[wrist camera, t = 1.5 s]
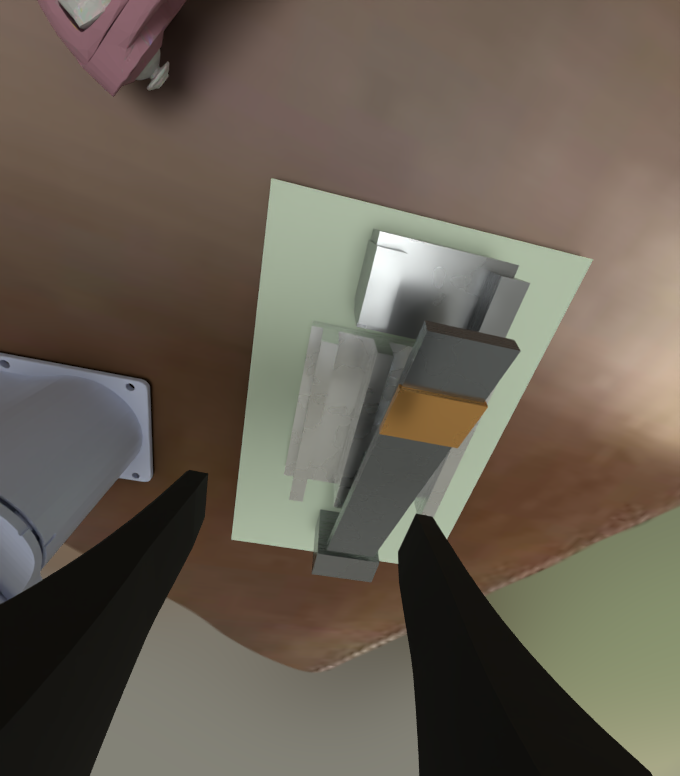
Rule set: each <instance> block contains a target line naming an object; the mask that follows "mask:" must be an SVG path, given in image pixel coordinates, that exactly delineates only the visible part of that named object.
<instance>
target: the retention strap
mask: <svg viewBox="0 0 680 776" xmlns="http://www.w3.org/2000/svg"><path fill="white" fill-rule="evenodd" d="M520 352H521V351H520V349H519V347H518V345H517V343H516V342H515V340H513V339H508V338H503V337H499V336H494V335H490V334H485V333H481V332H476V331H472V330H467V329H463V328H458V327H454V326H449V325H445V324H440V323H436V322H431V321H427V320H425V321H424V323H423V326H422V328H421V330H420V332H419V335H418V337H417V339H416V341H415V344H414V346H413V348H412V351H411V353H410V355H409V357H408V360H407V362H406V364H405V366H404V369H403V371H402V373H401V375H400V378H399V380H398V382H397V384H396V387H395V389H394V391H393V394H392V396H391V398H390V400H389V403H388V405H387V407H386V409H385V412H384V414H383V416H382V418H381V421H380V423H379V425H378V427H377V430H376V432H375V434H374V436H373V439H372V441H371V443H370V446H369V448H368V450H367V452H366V455H365V457H364V459H363V461H362V464H361V466H360V468H359V470H358V473H357V475H356V477H355V479H354V482H353V484H352V486H351V489H350V491H349V493H348V495H347V498H346V500H345V502H344V504H343V507H342V509H341V511H340V513H339V516H338V518H337V520H336V522H335V525H334V527H333V529H332V532H331V534H330V536H329V538H328V541H327V550H328V551H335V552H342V553H349V554H356V555H363V556H369V557H374V556H375V554H376V553H377V551H378V550H379V549H380V547H381V546H382V544H383V543H384V542H385V540H386V539H387V537H388V536H389V535H390V533H391V532H392V530H393V529H394V528H395V526H396V525H397V523H398V522H399V521H400V519H401V518H402V516H403V515H404V514H405V512H406V511H407V509H408V508H409V507H410V505H411V504H412V502H413V501H414V500H415V498H416V497H417V496H418V494H419V493H420V491H421V490H422V489H423V487H424V486H425V484H426V483H427V482H428V480H429V479H430V477H431V476H432V475H433V473H434V472H435V470H436V469H437V468H438V466H439V465H440V463H441V462H442V461H443V459H444V458H445V456H446V455H447V454H448V452H449V451H450V449H451V448H452V447H453V448H458V447H459V446H460V445H461V443H462V442H463V441H464V439H465V438H466V437H467V435H468V434H469V432H470V431H471V430H472V428H473V427H474V426H475V424H476V423H477V422H478V420H479V419H480V418H481V416H482V415H483V414H484V412H485V411H486V409H487V408H488V406H487V403H486V401H485V400H486V399H487V398H488V396H489V395H490V393H491V392H492V391H493V389H494V388H495V387H496V385H497V384H498V382H499V381H500V380H501V378H502V377H503V375H504V374H505V373H506V371H507V370H508V368H509V367H510V366H511V364H512V363H513V361H514V360H515V359H516V357H517V356H518V354H519V353H520Z"/></svg>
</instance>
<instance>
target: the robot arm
mask: <svg viewBox="0 0 680 776" xmlns="http://www.w3.org/2000/svg"><path fill="white" fill-rule="evenodd" d="M6 361H7V362H8V363H9V364H8V363H7V362H6ZM129 383H130V384H132V385H133V386H134V387H135V388H132V387H131V386H130V385H129ZM136 473H138V474H139V475H138V474H136ZM152 477H153V456H152V427H151V398H150V385H149V384H148V382H146V381H145V380H143V379H139V378H133V377H128V376H123V375H117V374H112V373H106V372H101V371H96V370H90V369H85V368H80V367H74V366H69V365H64V364H58V363H53V362H48V361H42V360H37V359H32V358H26V357H21V356H15V355H10V354H5V353H0V776H90V773H91V770H92V768H93V765H94V763H95V760H96V758H97V756H98V753H99V750H100V748H101V746H102V743H103V740H104V738H105V736H106V733H107V731H108V728H109V726H110V723H111V720H112V718H113V715H114V713H115V710H116V708H117V706H118V703H119V701H120V699H121V696H122V694H123V691H124V689H125V687H126V684H127V682H128V679H129V677H130V674H131V672H132V669H133V667H134V665H135V663H136V660H137V657H138V656H139V653H140V651H141V649H142V646H143V644H144V641H145V639H146V637H147V635H148V633H149V630H150V628H151V626H152V624H153V622H154V620H155V618H156V616H157V614H158V612H159V610H160V609H161V607H162V605H163V603H164V601H165V599H166V597H167V595H168V593H169V591H170V590H171V588H172V586H173V584H174V582H175V580H176V578H177V576H178V574H179V573H180V571H181V569H182V567H183V565H184V563H185V561H186V559H187V557H188V555H189V553H190V551H191V549H192V547H193V545H194V543H195V540H196V538H197V535H198V533H199V530H200V528H201V525H202V523H203V520H204V517H205V506H206V493H207V480H208V473H202V472H197V471H192V470H189V471H187V472H185V473H184V474H183V475H182V476H181V477H180V478H179V479H178V480H177V481H176V482H174V483H173V484H172V485H171V486H170V487H169V488H168V489H167V490H166V491H164V492H163V493H162V494H161V495H160V496H159V497H157V498H156V499H155V500H154V501H153V502H152V503H150V504H149V505H148V506H147V507H145V508H144V509H143V510H142V511H141V512H139V513H138V514H137V515H136V516H135V517H133V518H132V519H131V520H129V521H128V522H127V523H125V524H124V525H123V526H121V527H120V528H119V529H117V530H116V531H115V532H114V533H112V534H111V535H110V536H108V537H107V538H106V539H104V540H103V541H101V542H100V543H99V544H97V545H96V546H94V547H93V548H91V549H90V550H88V551H87V552H86V553H84V554H83V555H81V556H80V557H78V558H77V559H75V560H74V561H72V562H70V563H69V564H67V565H66V566H64V567H63V568H61V569H60V570H58V571H56V572H55V573H53V574H51V575H50V576H48V577H47V578H45V579H42V577H41V575H40V571H41V570H42V568H43V567H44V566H45V565H46V564H47V563H48V561H49V560H50V559H51V558H52V556H53V555H54V554H55V553H56V552H57V551H58V549H59V548H60V547H61V546H62V545H63V543H64V542H65V541H66V540H67V539H68V537H69V536H70V535H71V534H72V533H73V532H74V530H75V529H76V528H77V527H78V526H79V524H80V523H81V522H82V521H83V520H84V518H85V517H86V516H87V515H88V514H89V512H90V511H91V510H92V509H93V508H94V506H95V505H96V504H97V503H98V502H99V501H100V499H101V498H102V497H103V496H104V495H105V493H106V492H107V491H108V490H109V489H110V487H111V486H112V485H113V484H114V483H115V481H116V480H117V479H118V478H123V479H129V480H136V481H142V482H148V481H150V480H151V478H152ZM398 570H399V585H400V592H401V598H402V604H403V611H404V617H405V623H406V629H407V635H408V641H409V647H410V654H411V661H412V669H413V678H414V690H415V704H416V719H417V736H418V752H419V753H418V754H419V776H652V774H651V772H650V771H649V770H648V769H646V768H645V767H644V766H643V765H642V764H641V763H640V762H639V761H638V760H637V759H636V758H634V757H633V756H632V755H631V754H630V753H629V752H628V751H627V750H626V749H624V748H623V747H622V746H621V745H620V744H619V743H618V742H617V741H616V740H615V739H613V738H612V737H611V736H610V735H609V734H608V733H607V732H606V731H605V730H604V729H603V728H602V727H601V726H600V725H598V724H597V723H596V722H595V721H594V720H593V719H592V718H591V717H590V716H589V715H588V714H587V713H586V712H585V711H584V710H583V709H582V708H581V707H580V706H579V705H578V704H577V703H576V702H575V701H574V700H573V699H572V698H571V697H570V696H569V695H568V694H567V693H566V692H565V691H564V690H563V689H562V688H561V686H559V684H558V683H557V682H556V681H555V680H554V679H553V678H552V677H551V676H550V675H549V674H548V673H547V671H546V670H545V669H544V668H543V667H542V666H541V665H540V664H539V663H538V662H537V660H536V659H535V658H534V657H533V656H532V655H531V654H530V653H529V651H528V650H527V649H526V648H525V647H524V646H523V645H522V643H521V642H520V641H519V640H518V638H517V637H516V636H515V635H514V634H513V632H512V631H511V630H510V629H509V627H508V626H507V625H506V624H505V623H504V621H503V620H502V619H501V617H500V616H499V615H498V614H497V612H496V611H495V610H494V608H493V607H492V606H491V604H490V603H489V601H488V600H487V599H486V597H485V596H484V595H483V593H482V592H481V590H480V589H479V588H478V586H477V585H476V583H475V582H474V580H473V579H472V577H471V576H470V575H469V573H468V572H467V570H466V569H465V567H464V566H463V564H462V562H461V561H460V559H459V558H458V556H457V555H456V553H455V552H454V550H453V548H452V547H451V545H450V544H449V542H448V540H447V539H446V537H445V536H444V534H443V532H442V531H441V529H440V528H439V526H438V524H437V523H436V521H435V520H434V518H433V517H432V516H427V515H421V514H415V516H414V519H413V521H412V523H411V525H410V527H409V529H408V531H407V533H406V536H405V538H404V540H403V542H402V544H401V546H400V548H399V550H398Z"/></svg>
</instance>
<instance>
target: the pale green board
mask: <svg viewBox="0 0 680 776" xmlns="http://www.w3.org/2000/svg"><path fill="white" fill-rule="evenodd" d="M373 229H377V230H381V231H385V232H389V233H393V234H397V235H402V236H406V237H410V238H414V239H418V240H422V241H426V242H430V243H434V244H438V245H442V246H446V247H450V248H455V249H459V250H463V251H467V252H471V253H475V254H479V255H483V256H487V257H491V258H495V259H498V260H502V261H506V262H509V263H513V264H516V265H519V267H518V270H517V272H516V274H515V278H517V279H520V280H523V281H526V282H529V283H530V285H529V288H528V290H527V292H526V294H525V296H524V298H523V301H522V303H521V305H520V307H519V309H518V312H517V314H516V316H515V318H514V320H513V322H512V325H511V327H510V329H509V331H508V333H507V336H506V338H508V339H513V340H515V342H516V343H517V345H518V347H519V349H520V351H521V352H520V353H519V354H518V356H517V357H516V359H515V360H514V361H513V363H512V364H511V366H510V367H509V368H508V370H507V371H506V373H505V374H504V375H503V377H502V378H501V380H500V381H499V382H498V384H497V386H496V388H495V390H494V392H493V394H492V396H491V398H490V400H489V402H488V404H487V406H488V408H487V409H486V411H485V412H484V414H483V415H482V417H481V419H480V421H479V423H478V425H477V427H476V430H475V432H474V434H473V436H472V438H471V440H470V442H469V444H468V446H467V448H466V451H465V453H464V455H463V457H462V459H461V461H460V463H459V465H458V467H457V469H456V472H455V474H454V476H453V478H452V480H451V482H450V484H449V486H448V488H447V490H446V492H445V495H444V497H443V499H442V501H441V503H440V505H439V507H438V509H437V511H436V513H435V516H434V520H435V521H436V523H437V524H438V526H439V528H440V529H441V531H442V532H443V534H444V536H445V537H446V539H447V538H448V536H449V534H450V532H451V531H452V529H453V527H454V525H455V523H456V521H457V519H458V517H459V515H460V513H461V511H462V510H463V508H464V506H465V504H466V502H467V500H468V498H469V496H470V494H471V492H472V490H473V488H474V487H475V485H476V483H477V481H478V479H479V477H480V475H481V473H482V471H483V469H484V467H485V465H486V464H487V462H488V460H489V458H490V456H491V454H492V452H493V450H494V448H495V446H496V444H497V443H498V441H499V439H500V437H501V435H502V433H503V431H504V429H505V427H506V425H507V423H508V421H509V420H510V418H511V416H512V414H513V412H514V410H515V408H516V406H517V404H518V402H519V400H520V398H521V397H522V395H523V393H524V391H525V389H526V387H527V385H528V383H529V381H530V379H531V377H532V375H533V374H534V372H535V370H536V368H537V366H538V364H539V362H540V360H541V358H542V356H543V354H544V353H545V351H546V349H547V347H548V345H549V343H550V341H551V339H552V337H553V335H554V333H555V331H556V330H557V328H558V326H559V324H560V322H561V320H562V318H563V316H564V314H565V312H566V310H567V308H568V307H569V305H570V303H571V301H572V299H573V297H574V295H575V293H576V291H577V289H578V287H579V285H580V284H581V282H582V280H583V278H584V276H585V274H586V272H587V270H588V268H589V266H590V264H591V263H592V261H593V259H589V258H585V257H581V256H577V255H573V254H569V253H565V252H562V251H558V250H554V249H550V248H546V247H542V246H538V245H534V244H530V243H526V242H522V241H518V240H514V239H510V238H506V237H502V236H498V235H494V234H490V233H486V232H482V231H478V230H474V229H471V228H467V227H463V226H459V225H455V224H451V223H447V222H443V221H439V220H435V219H431V218H427V217H423V216H419V215H415V214H411V213H407V212H403V211H399V210H395V209H391V208H387V207H383V206H380V205H376V204H372V203H368V202H364V201H360V200H356V199H352V198H348V197H344V196H340V195H336V194H332V193H328V192H324V191H320V190H316V189H312V188H308V187H304V186H300V185H296V184H293V183H289V182H285V181H281V180H277V179H273V178H271V187H270V196H269V205H268V214H267V223H266V232H265V241H264V250H263V259H262V268H261V277H260V286H259V295H258V304H257V313H256V322H255V331H254V340H253V349H252V358H251V367H250V376H249V385H248V394H247V403H246V412H245V421H244V430H243V439H242V448H241V457H240V466H239V475H238V484H237V493H236V502H235V511H234V520H233V530H232V540H239V541H245V542H252V543H259V544H266V545H273V546H280V547H287V548H294V549H301V550H307V551H314V538H315V527H316V524H317V520H318V516H319V512H320V509H321V510H328V511H334V512H340V511H341V509H342V508H338V507H333V505H334V483H330V482H323V481H317V480H311V479H308V480H307V484H306V489H305V493H304V497H303V502H300V501H294V500H289V497H290V491H291V486H292V480H293V476H287V475H284V471H285V466H286V460H287V455H288V450H289V444H290V439H291V434H292V428H293V423H294V418H295V412H296V407H297V402H298V397H299V391H300V386H301V381H302V375H303V370H304V365H305V359H306V354H307V349H308V343H309V338H310V333H311V327H312V323H313V320H314V321H319V322H323V323H328V324H333V325H337V326H342V327H347V328H351V329H356V330H361V331H365V332H370V333H375V334H379V335H384V336H389V337H393V338H398V339H403V340H407V341H412V342H415V341H416V339H411V338H407V337H402V336H397V335H393V334H388V333H383V332H379V331H374V330H369V329H365V328H360V327H356V321H355V315H354V307H355V302H354V299H355V295H356V291H357V286H358V282H359V278H360V274H361V270H362V265H363V261H364V257H365V253H366V248H367V244H368V240H369V239H370V240H371V236H372V232H373ZM415 514H417V512H416V508H415V504H414V501H413V502H412V504H411V505H410V507H409V508H408V509H407V511H406V512H405V514H404V515H403V516H402V518H401V519H400V521H399V522H398V523H397V525H396V526H395V528H394V529H393V530H392V532H391V533H390V535H389V536H388V537H387V539H386V540H385V542H384V543H383V544H382V546H381V547H380V549H379V550H378V555H379V561H383V562H390V563H397V564H398V550H399V548H400V546H401V544H402V542H403V540H404V538H405V536H406V533H407V531H408V529H409V527H410V525H411V523H412V521H413V519H414V516H415Z"/></svg>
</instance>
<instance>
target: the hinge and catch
mask: <svg viewBox="0 0 680 776" xmlns="http://www.w3.org/2000/svg"><path fill="white" fill-rule="evenodd" d="M518 267H519V265H516V264H513V263H509V262H506V261H502V260H498V259H495V258H491V257H487V256H483V255H479V254H475V253H471V252H467V251H463V250H459V249H455V248H450V247H446V246H442V245H438V244H434V243H430V242H426V241H422V240H418V239H414V238H410V237H406V236H402V235H397V234H393V233H389V232H385V231H381V230H377V229H373V232H372V236H371V240H370V239H369V240H368V244H367V248H366V253H365V257H364V261H363V265H362V270H361V274H360V278H359V282H358V286H357V291H356V295H355V299H354V302H355V307H354V315H355V321H356V327H360V328H365V329H369V330H374V331H379V332H383V333H388V334H393V335H397V336H402V337H407V338H411V339H417V337H418V335H419V332H420V330H421V328H422V326H423V323H424V321H425V320H427V321H431V322H436V323H440V324H445V325H449V326H454V327H458V328H463V329H467V330H472V331H476V332H481V333H485V334H490V335H494V336H499V337H503V338H506V336H507V333H508V331H509V329H510V327H511V325H512V322H513V320H514V318H515V316H516V314H517V312H518V309H519V307H520V305H521V303H522V301H523V298H524V296H525V294H526V292H527V290H528V288H529V285H530V283H529V282H526V281H523V280H520V279H517V278H515V274H516V272H517V270H518ZM339 513H340V512H334V511H328V510H321V509H320V512H319V516H318V520H317V524H316V527H315V538H314V551H313V564H312V574H316V575H323V576H330V577H338V578H345V579H352V580H359V581H366V582H372V579H373V577H374V574H375V572H376V570H377V567H378V565H379V555H378V551H377V553H376V554H375V556H374V557H369V556H363V555H356V554H349V553H342V552H335V551H328V550H327V541H328V538H329V536H330V534H331V532H332V529H333V527H334V525H335V522H336V520H337V518H338V516H339Z"/></svg>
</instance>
